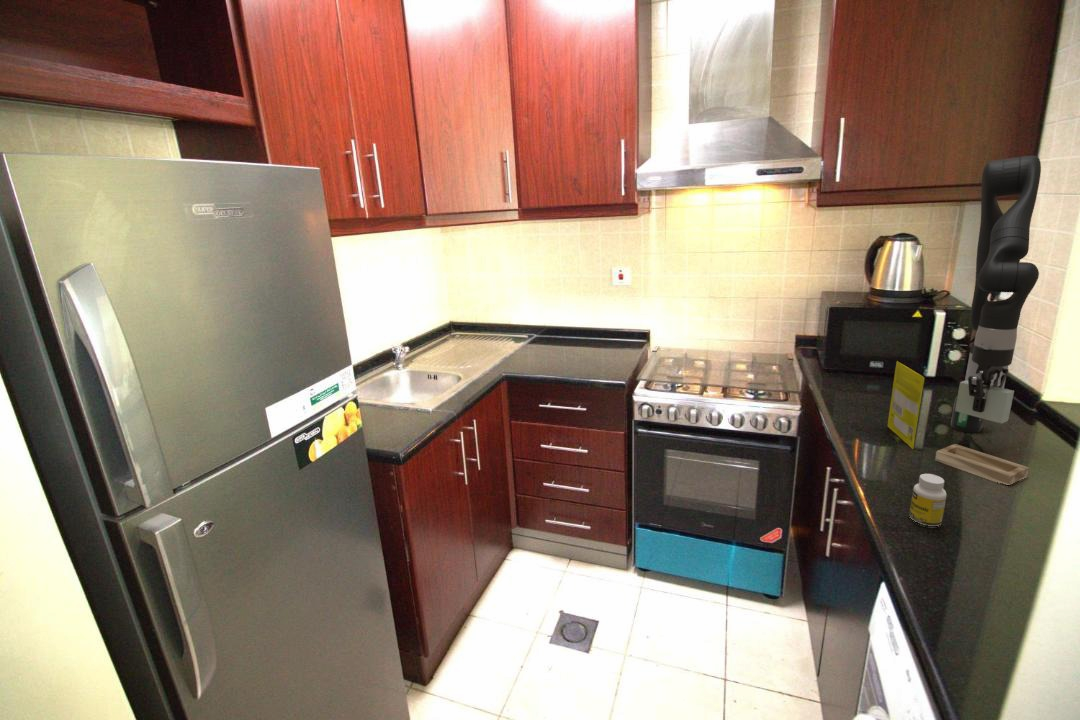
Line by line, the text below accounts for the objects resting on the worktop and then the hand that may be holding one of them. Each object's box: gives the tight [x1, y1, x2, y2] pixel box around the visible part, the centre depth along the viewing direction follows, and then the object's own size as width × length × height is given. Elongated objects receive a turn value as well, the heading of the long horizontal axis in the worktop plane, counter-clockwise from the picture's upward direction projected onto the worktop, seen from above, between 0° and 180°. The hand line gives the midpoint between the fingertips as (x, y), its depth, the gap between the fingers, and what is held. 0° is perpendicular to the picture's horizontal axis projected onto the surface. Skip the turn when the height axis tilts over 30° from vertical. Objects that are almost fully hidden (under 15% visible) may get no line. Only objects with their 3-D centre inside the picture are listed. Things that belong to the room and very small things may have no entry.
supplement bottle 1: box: [908, 473, 947, 527], centre depth 104 cm, size 5×5×10 cm
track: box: [934, 443, 1030, 485], centre depth 123 cm, size 8×15×3 cm, turn 25°
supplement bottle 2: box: [950, 395, 985, 434], centre depth 143 cm, size 7×7×12 cm
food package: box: [887, 360, 925, 450], centre depth 139 cm, size 15×1×20 cm, turn 168°
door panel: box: [955, 380, 1015, 424], centre depth 129 cm, size 3×10×8 cm, turn 26°
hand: (981, 409), depth 130 cm, fingers closed on door panel, 3 cm apart
